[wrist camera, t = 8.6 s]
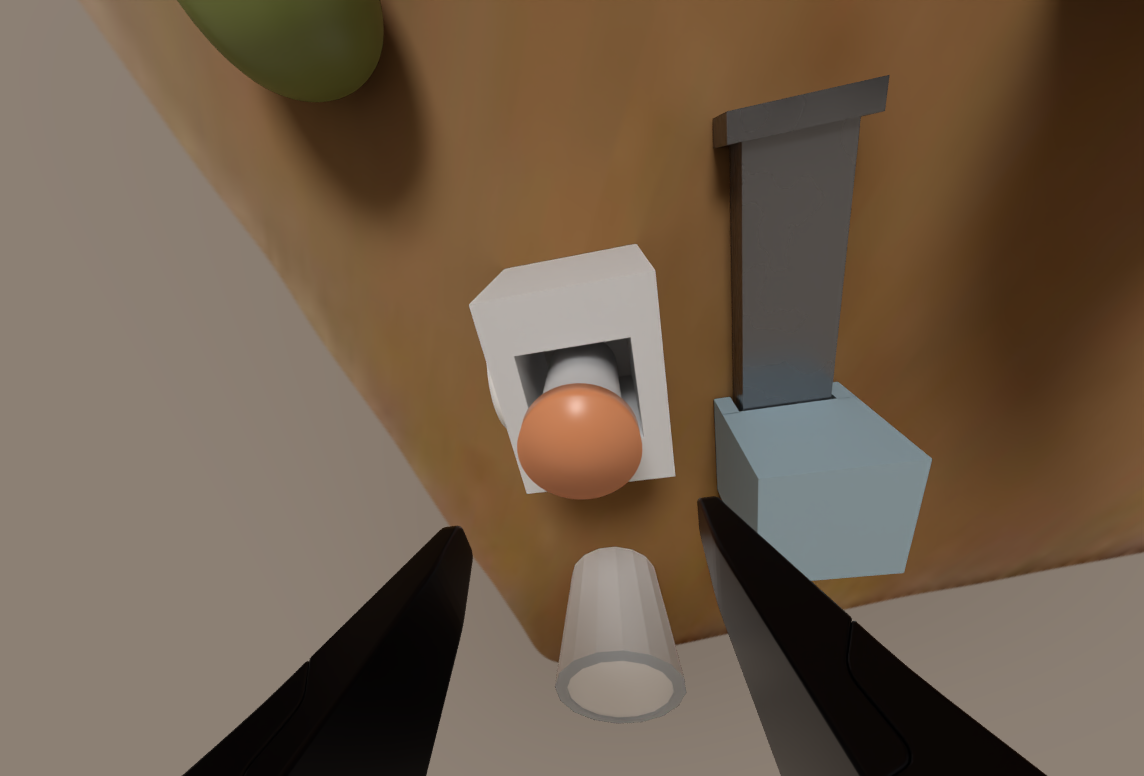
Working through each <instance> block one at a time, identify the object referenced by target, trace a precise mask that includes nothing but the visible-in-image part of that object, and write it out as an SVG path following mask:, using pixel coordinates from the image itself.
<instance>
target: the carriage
mask: <svg viewBox="0 0 1144 776" xmlns="http://www.w3.org/2000/svg"><path fill="white" fill-rule="evenodd" d="M714 414H715V439H716V464H717V489H718V491H719V494H720V496H721V499H722V501H723V502H724V503H725V504H726V505H727V506H728V507H729V508H730V509H732V510H733V511H734V512H735V513H736V514H737V515H738V516H739V517H740V518H742V519H743V520H744V521H745V522H746V523H747V524H748V525H749V526H750V527H752V528H753V529H754V530H755V531H756V532H757V533H758V534H759V535H760V536H762V537H763V538H764V539H765V540H766V541H767V542H768V543H769V544H770V545H772V546H773V547H774V548H775V549H776V550H777V551H778V552H779V553H780V554H782V555H783V556H784V557H785V558H786V559H787V560H788V561H789V562H790V563H792V564H793V565H794V566H795V567H796V568H797V569H798V570H799V571H800V572H801V573H803V574H804V575H805V576H806V577H807V578H808V579H809V580H810V581H813V580H825V579H837V578H848V577H860V576H872V575H884V574H896V573H904V570H905V566H906V562H907V558H908V554H909V550H910V546H911V542H912V538H913V534H914V530H915V526H916V522H917V518H918V514H919V510H920V506H921V502H922V498H923V494H924V490H925V486H926V482H927V478H928V474H929V470H930V466H931V462H932V458H931V457H929V456H928V455H927V454H926V453H924V452H923V451H922V450H921V449H920V448H918V447H917V446H916V445H915V444H913V443H912V442H911V441H910V440H909V439H907V438H906V437H905V436H904V435H902V434H901V433H900V432H899V431H897V430H896V429H895V428H894V427H893V426H891V425H890V424H889V423H888V422H886V421H885V420H884V419H883V418H882V417H880V416H879V415H878V414H877V413H875V412H874V411H873V410H872V409H871V408H869V407H868V406H867V405H866V404H864V403H863V402H862V401H861V400H860V399H858V398H857V397H856V396H855V395H853V394H852V393H851V392H850V391H849V390H847V389H846V388H845V387H844V386H842V385H841V384H840V383H839V382H833V385H832V395H831V399H829V400H821V401H814V402H807V403H799V404H792V405H785V406H777V407H770V408H763V409H755V410H748V411H741V412H739V410H738V409H737V407H736V406H735V404H734V403H733V401H732V399H731V398H730V397H726V398H719V399H714Z"/></svg>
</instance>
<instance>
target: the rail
mask: <svg viewBox="0 0 1144 776" xmlns="http://www.w3.org/2000/svg"><path fill="white" fill-rule="evenodd" d="M888 82H889V75H887V76H883V77H878V78H874V79H869V80H865V81H861V82H856V83H852V84H847V85H843V86H838V87H834V88H829V89H825V90H821V91H816V92H812V93H807V94H803V95H798V96H794V97H790V98H785V99H781V100H776V101H772V102H767V103H763V104H758V105H754V106H750V107H745V108H741V109H736V110H732V111H727V112H725V113H723V114H721V115H719V116H717V117H715V118H713V144H714V148H718V147H723V146H728V145H729V158H730V220H731V282H732V345H733V403H734V404H735V406H736V407H737V409H738V410H739V412H741V411H748V410H755V409H763V408H770V407H777V406H785V405H792V404H799V403H807V402H814V401H821V400H829V399H831V395H832V385H833V376H834V366H835V357H836V347H837V338H838V328H839V319H840V309H841V300H842V290H843V281H844V271H845V262H846V252H847V243H848V233H849V223H850V214H851V204H852V195H853V185H854V176H855V166H856V157H857V147H858V138H859V128H860V119H861V116H866V115H870V114H874V113H878V112H882V111H885V106H886V98H887V90H888Z"/></svg>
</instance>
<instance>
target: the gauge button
mask: <svg viewBox="0 0 1144 776" xmlns="http://www.w3.org/2000/svg"><path fill="white" fill-rule="evenodd" d="M517 453H518V458H519V461H520V464H521V466H522V468H523V470H524V471H525V473H526V474H527V475H528V477H529V478H530V479H531V480H532V481H533V482H534V483H535V484H537V485H538V486H539V487H541V488H542V489H544V490H545V491H547V492H549V493H552V494H554V495H557V496H560V497H564V498H569V499H580V500H584V499H593V498H599V497H602V496H605V495H608V494H610V493H613V492H614V491H616V490H618V489H620V488H621V487H622V486H624V485H625V484H626V483H627V482H628V481H629V480H630V479H631V478H632V477H633V476H634V474H635V472H636V471H637V469H638V467H639V465H640V462H641V458H642V440H641V435H640V430H639V425H638V421H637V418H636V416H635V414H634V412H633V410H632V409H631V407H630V406H629V405H628V404H627V403H626V402H625V401H624V400H623V399H622V398H621V391H620V383H619V376H618V368H617V362H616V358H615V355H614V353H613V351H612V350H611V349H610V347H609V346H608V345H607V344H605V343H604V342H598V343H592V344H586V345H580V346H574V347H568V348H562V349H556V350H555V351H554V352H553V354H552V357H551V360H550V364H549V369H548V373H547V377H546V382H545V386H544V390H543V394H542V395H541V396H539V397H538V398H537V399H536V400H535V401H534V402H533V403H532V404H531V405H530V407H529V408H528V410H527V412H526V414H525V416H524V418H523V422H522V425H521V429H520V432H519V436H518V441H517Z"/></svg>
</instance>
